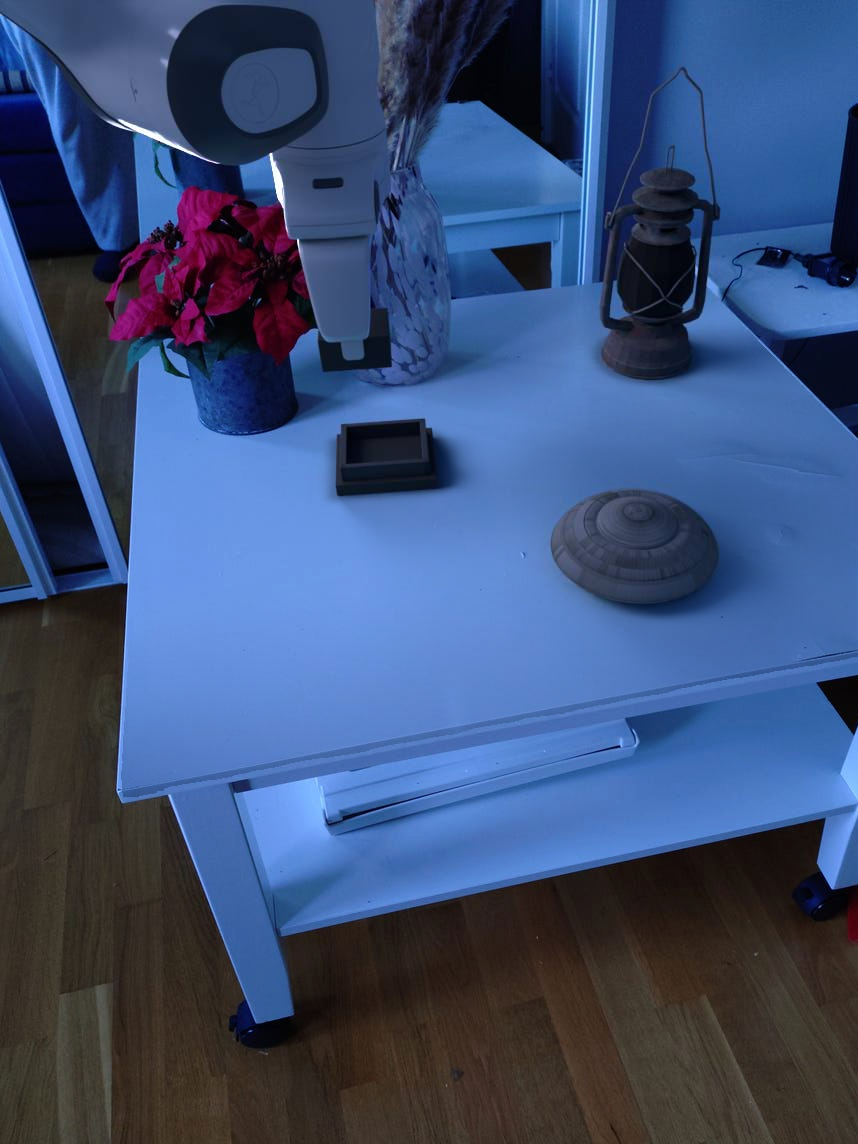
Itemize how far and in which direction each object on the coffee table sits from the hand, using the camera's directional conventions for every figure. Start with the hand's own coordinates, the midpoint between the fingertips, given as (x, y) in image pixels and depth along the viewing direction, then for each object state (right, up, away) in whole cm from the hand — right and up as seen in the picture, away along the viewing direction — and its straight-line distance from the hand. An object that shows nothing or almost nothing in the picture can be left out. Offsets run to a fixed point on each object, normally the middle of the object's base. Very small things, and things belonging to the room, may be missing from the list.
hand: (354, 337), depth 81 cm
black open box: (+1, -8, +15) cm, 17 cm away
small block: (0, -1, +1) cm, 2 cm away
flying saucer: (+25, -19, +4) cm, 31 cm away
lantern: (+30, +7, +29) cm, 42 cm away
